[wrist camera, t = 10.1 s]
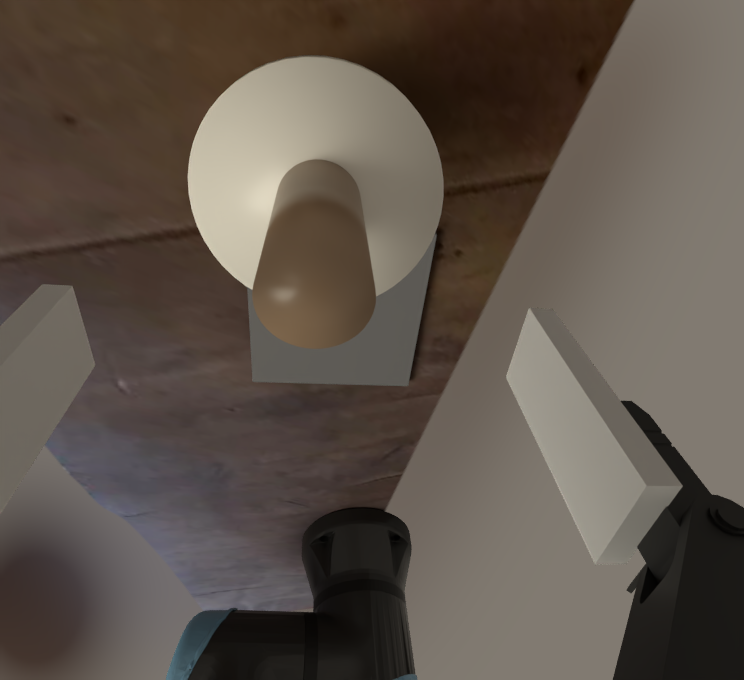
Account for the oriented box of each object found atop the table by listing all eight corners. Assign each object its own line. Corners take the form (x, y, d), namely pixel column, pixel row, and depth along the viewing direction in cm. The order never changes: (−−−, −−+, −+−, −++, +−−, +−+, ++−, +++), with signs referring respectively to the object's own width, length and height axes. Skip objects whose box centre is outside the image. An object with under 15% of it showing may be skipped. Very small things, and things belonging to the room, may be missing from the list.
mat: (406, 381, 51) (408, 386, 50) (253, 376, 49) (252, 381, 49) (435, 230, 41) (436, 234, 41) (245, 218, 39) (243, 221, 39)
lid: (419, 304, 28) (456, 431, 20) (206, 294, 26) (152, 426, 18) (462, 70, 21) (546, 118, 13) (176, 39, 20) (69, 71, 11)
